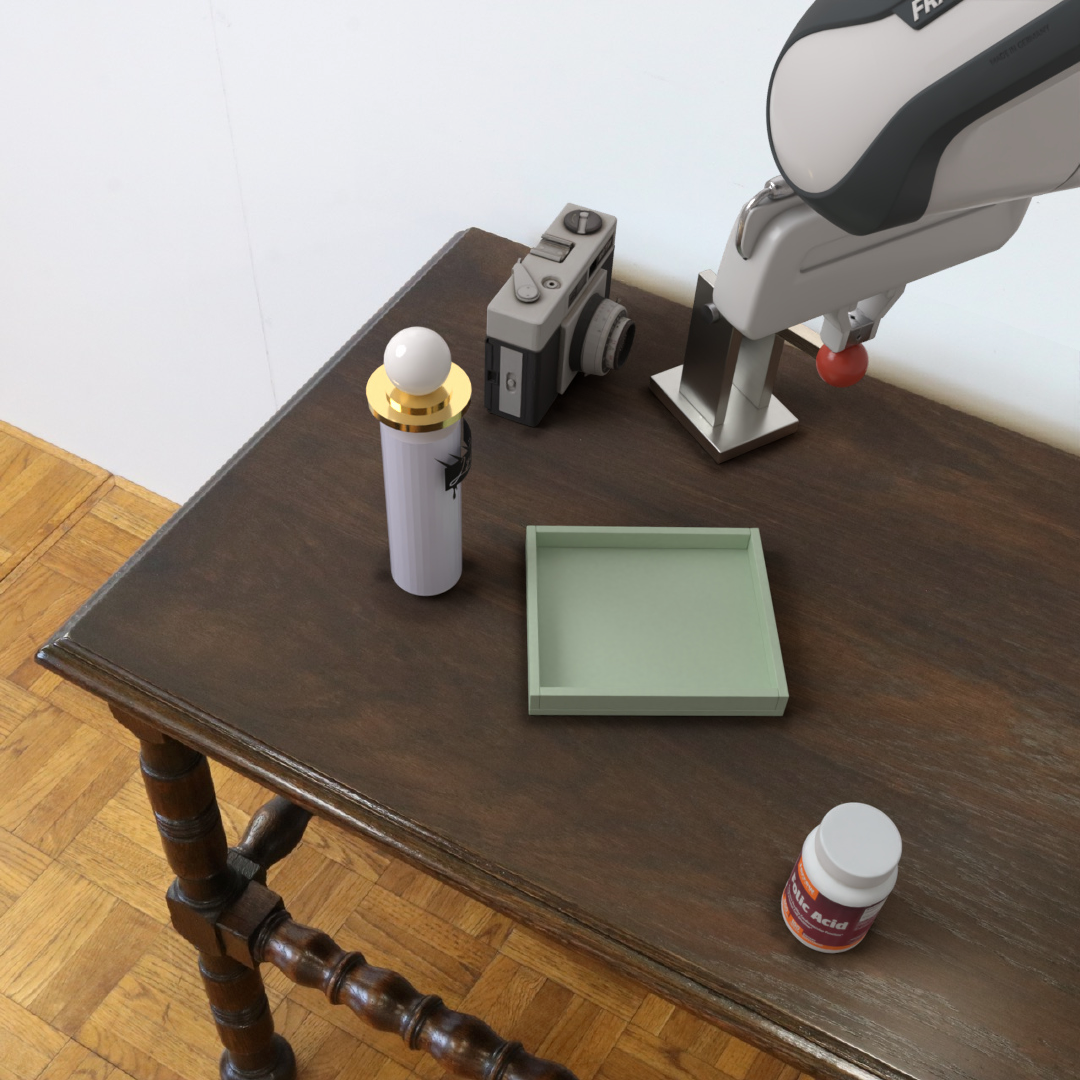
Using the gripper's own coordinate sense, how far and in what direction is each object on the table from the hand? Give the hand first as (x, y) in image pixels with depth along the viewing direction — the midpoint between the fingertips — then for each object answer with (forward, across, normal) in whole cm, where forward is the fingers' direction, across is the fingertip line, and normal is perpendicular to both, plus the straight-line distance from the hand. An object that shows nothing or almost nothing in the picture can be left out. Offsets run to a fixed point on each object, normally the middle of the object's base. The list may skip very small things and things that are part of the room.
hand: (846, 340), depth 77 cm
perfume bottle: (+14, -26, +6) cm, 30 cm away
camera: (+14, -8, +18) cm, 24 cm away
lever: (+4, 0, +4) cm, 6 cm away
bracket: (+14, 0, +10) cm, 17 cm away
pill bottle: (+14, -18, -25) cm, 34 cm away
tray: (+14, -16, -4) cm, 21 cm away
